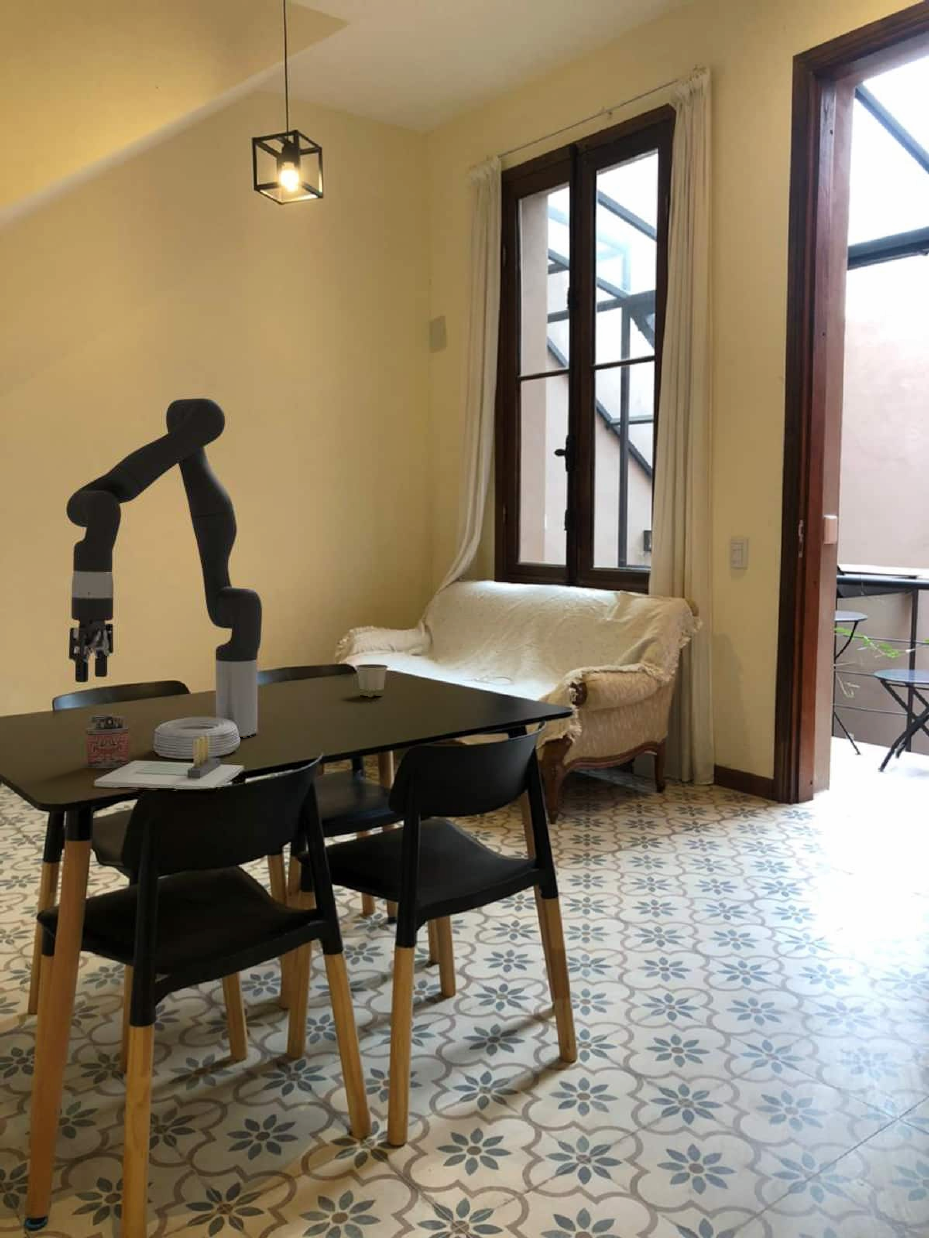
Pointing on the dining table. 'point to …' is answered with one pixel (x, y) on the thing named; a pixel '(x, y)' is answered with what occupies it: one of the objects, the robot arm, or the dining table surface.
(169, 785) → the board
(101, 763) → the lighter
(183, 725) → the cable
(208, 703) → the dining table surface
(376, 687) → the flower pot
